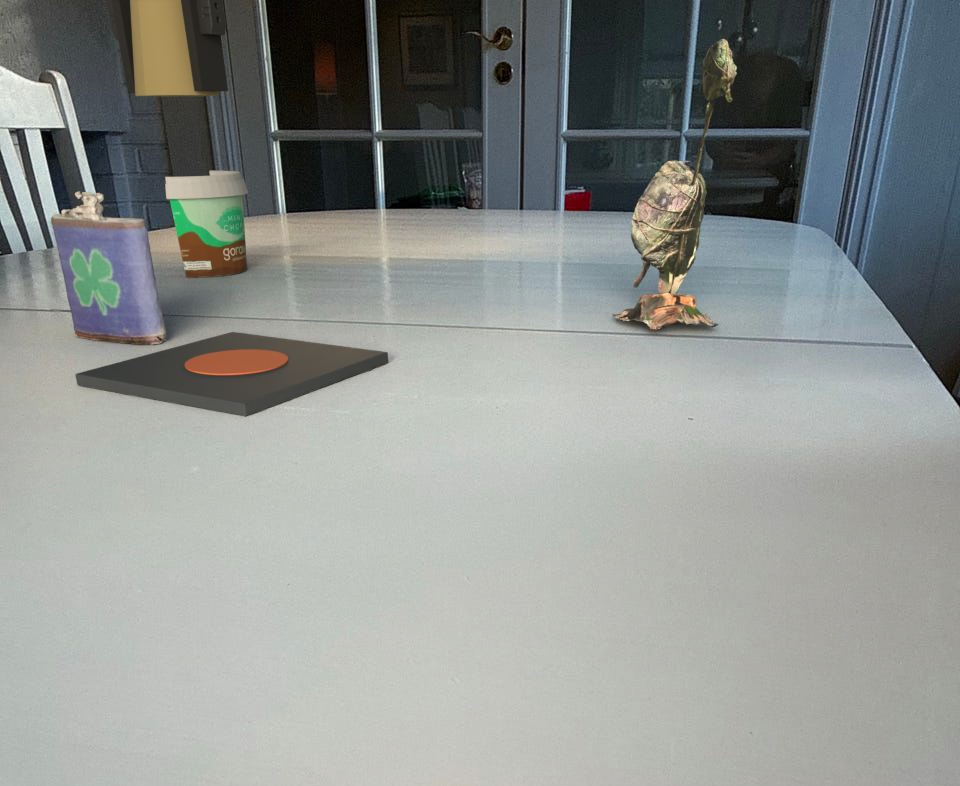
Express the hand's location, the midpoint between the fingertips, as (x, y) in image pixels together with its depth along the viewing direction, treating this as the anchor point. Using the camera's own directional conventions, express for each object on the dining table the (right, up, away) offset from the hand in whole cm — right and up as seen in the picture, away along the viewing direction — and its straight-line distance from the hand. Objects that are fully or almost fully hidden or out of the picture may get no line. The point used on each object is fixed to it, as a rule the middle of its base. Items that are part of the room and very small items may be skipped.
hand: (177, 91), depth 67 cm
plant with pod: (+38, -14, +10) cm, 42 cm away
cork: (0, 0, 0) cm, 0 cm away
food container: (-6, +1, +37) cm, 37 cm away
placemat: (+6, -22, -4) cm, 23 cm away
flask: (-7, -17, +6) cm, 19 cm away
